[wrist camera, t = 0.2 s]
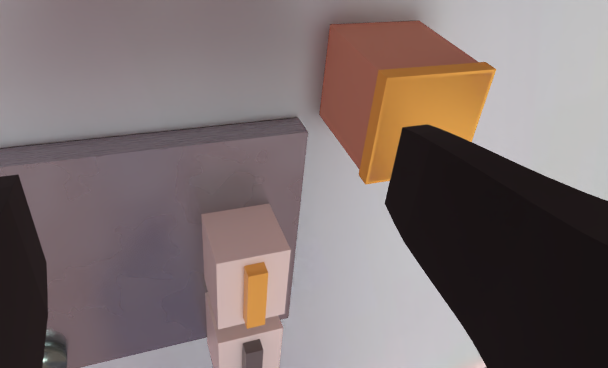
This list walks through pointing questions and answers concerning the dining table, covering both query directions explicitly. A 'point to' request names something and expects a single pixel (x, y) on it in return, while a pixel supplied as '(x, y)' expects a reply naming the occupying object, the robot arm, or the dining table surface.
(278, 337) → the block
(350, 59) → the copper lidded box
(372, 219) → the dining table surface
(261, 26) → the dining table surface
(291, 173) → the panel
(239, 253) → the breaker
